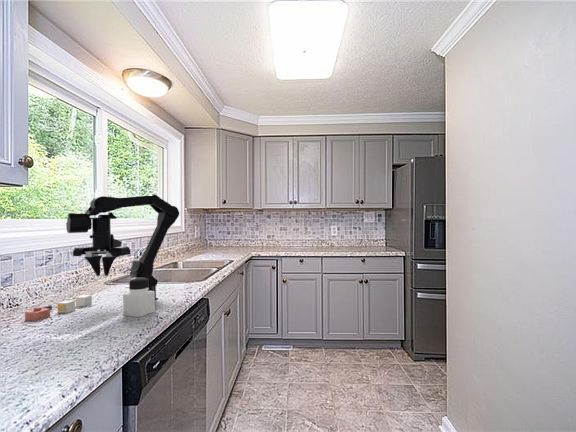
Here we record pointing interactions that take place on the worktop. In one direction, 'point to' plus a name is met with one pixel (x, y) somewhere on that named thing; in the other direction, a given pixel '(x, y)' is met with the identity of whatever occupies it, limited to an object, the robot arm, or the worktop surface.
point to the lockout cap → (37, 314)
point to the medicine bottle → (138, 298)
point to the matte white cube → (66, 306)
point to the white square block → (84, 300)
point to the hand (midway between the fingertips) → (102, 275)
